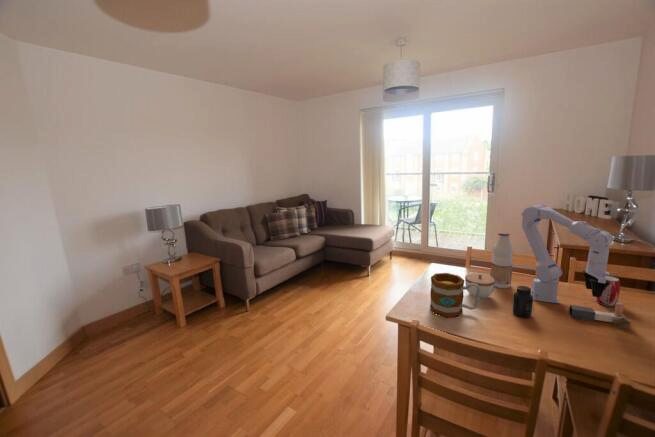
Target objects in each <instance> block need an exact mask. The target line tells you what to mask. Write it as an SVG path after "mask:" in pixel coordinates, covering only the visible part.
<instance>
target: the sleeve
mask: <svg viewBox="0 0 655 437" xmlns="http://www.w3.org/2000/svg"><path fill="white" fill-rule="evenodd" d="M595 311H596V310H594V308H593V307H589V306H581V305H576V304H575V305H574V304H569V310H568V314H569V316H570V318H571V319H573V320H580V321H587V322H591V323H592V322H595V320H594V319H595Z"/></svg>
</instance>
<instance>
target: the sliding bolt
mask: <svg viewBox="0 0 655 437" xmlns="http://www.w3.org/2000/svg"><path fill="white" fill-rule="evenodd" d="M624 309H625V304H624V303H623V302H619V301H618V302H616V305H615V306H614V311H613V313H608V312H607V311H599V310H594V311H595V319H594V321H596V320H597V321H600V322H601V321H602V322H609V323H611V322H613V318H619V319H624V318H623V316H622V314H623V313H624Z"/></svg>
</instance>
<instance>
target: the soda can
mask: <svg viewBox="0 0 655 437" xmlns="http://www.w3.org/2000/svg"><path fill="white" fill-rule="evenodd" d="M605 278H606V282H609V283H610V284H609V285H608V286H607V287H606V288H605V289H604V291H603V292H602V294H601V296H600V297H595V301H596V302H597V303H599V305H603V306H607V307H615V306H616V302H619V298H620V297H619V296H620V290H621V282H620V279H619V278H618V277H615V276H611V275H606V277H605Z"/></svg>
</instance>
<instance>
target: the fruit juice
mask: <svg viewBox="0 0 655 437" xmlns="http://www.w3.org/2000/svg"><path fill="white" fill-rule="evenodd" d="M497 236H498V239H497V241H496V242H495V243H494V245H493V246H492V256H491V262H490V275H489V276H491V277H493V278H494V279H495V284H494V288H497V289H509V288H511V286H512V278H513V277H512V275H513V265H514V260H513V255H514V252H515V250H514V248H513V246H512V242H511V241H510V236H511V233H510V232H507V231H499V232H498V235H497Z"/></svg>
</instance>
